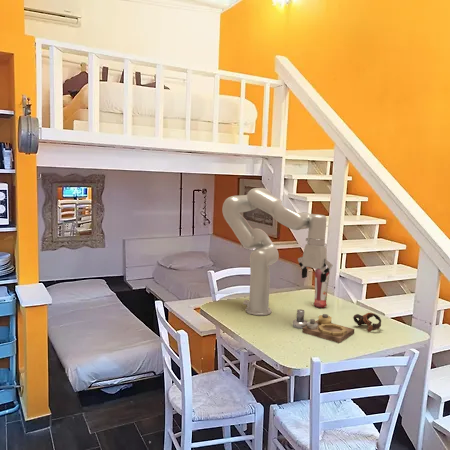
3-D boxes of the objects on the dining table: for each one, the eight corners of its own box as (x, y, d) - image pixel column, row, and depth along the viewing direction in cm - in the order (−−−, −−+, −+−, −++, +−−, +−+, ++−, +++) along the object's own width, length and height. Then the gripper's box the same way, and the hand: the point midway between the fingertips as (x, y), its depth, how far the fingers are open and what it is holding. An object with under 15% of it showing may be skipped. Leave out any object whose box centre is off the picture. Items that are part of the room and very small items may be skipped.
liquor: (324, 309, 220) (327, 255, 217) (310, 307, 225) (314, 253, 221) (329, 306, 227) (333, 253, 223) (316, 303, 231) (319, 251, 227)
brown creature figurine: (376, 326, 200) (383, 314, 196) (375, 341, 193) (383, 329, 188) (350, 317, 202) (357, 305, 197) (349, 332, 195) (355, 319, 190)
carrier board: (302, 332, 187) (303, 318, 187) (318, 323, 199) (319, 311, 198) (339, 343, 177) (340, 328, 176) (354, 333, 188) (355, 320, 188)
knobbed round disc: (289, 326, 194) (290, 310, 193) (297, 323, 199) (298, 307, 198) (302, 330, 190) (303, 313, 189) (309, 326, 195) (310, 310, 194)
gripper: (295, 240, 197) (292, 277, 199) (329, 245, 186) (326, 285, 188) (304, 238, 203) (301, 274, 205) (337, 244, 191) (334, 282, 193)
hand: (313, 279), depth 196 cm, fingers open, 9 cm apart
